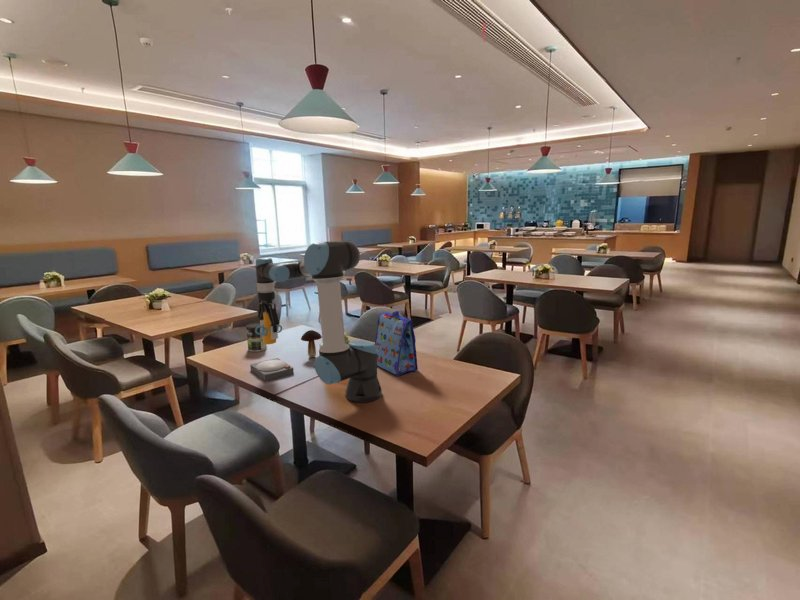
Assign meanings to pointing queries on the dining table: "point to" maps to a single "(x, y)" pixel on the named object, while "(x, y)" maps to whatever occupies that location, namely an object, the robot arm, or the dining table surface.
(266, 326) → the yellow tube with rings
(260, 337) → the coffee can
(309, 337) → the decorative mushroom
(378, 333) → the lunch bag
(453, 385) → the dining table surface
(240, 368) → the dining table surface
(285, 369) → the mount slab
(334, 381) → the robot arm
